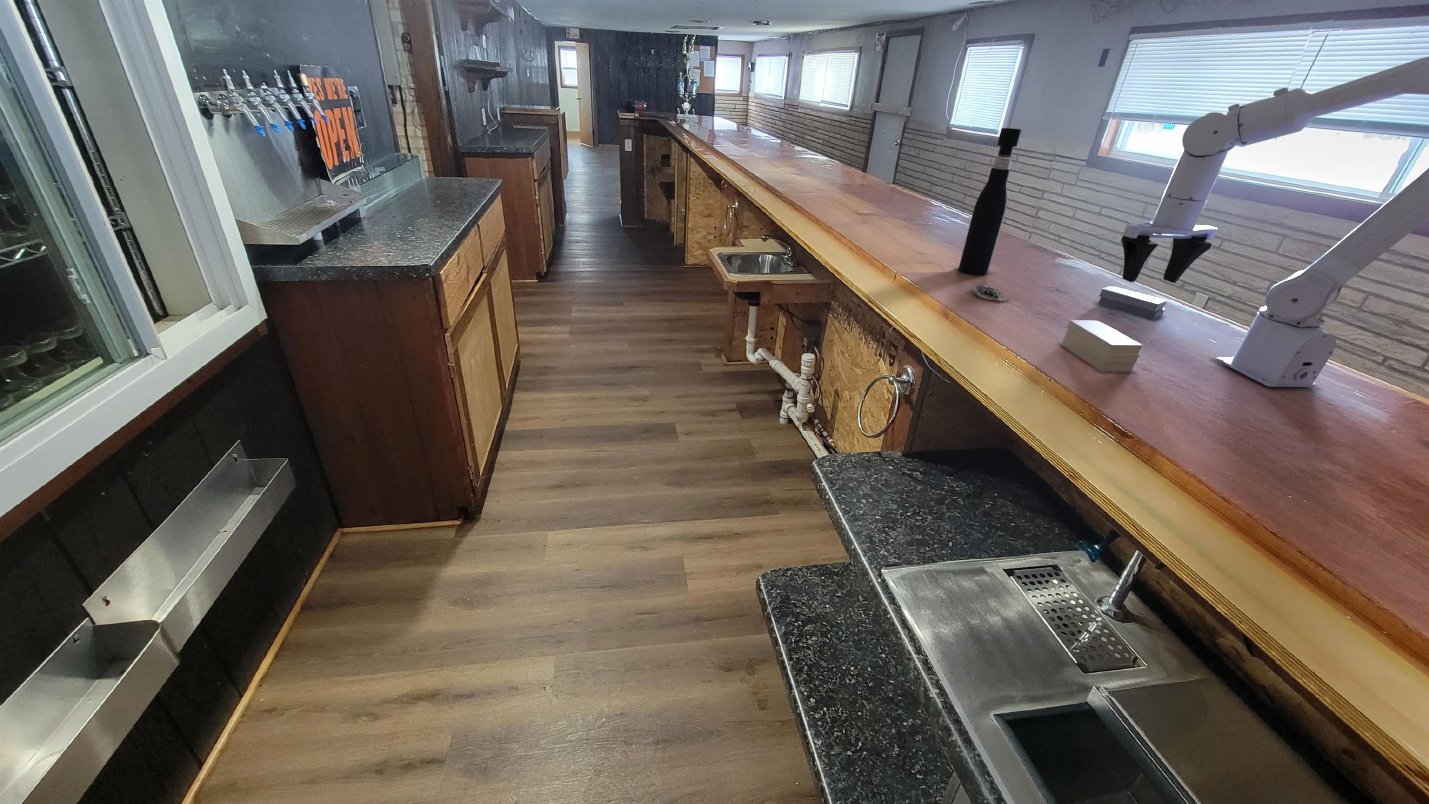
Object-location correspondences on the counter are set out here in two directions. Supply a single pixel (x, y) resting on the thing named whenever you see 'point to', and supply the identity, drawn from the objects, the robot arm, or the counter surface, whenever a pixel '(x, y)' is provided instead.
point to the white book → (1104, 336)
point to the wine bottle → (989, 210)
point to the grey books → (1132, 302)
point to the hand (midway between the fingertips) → (1148, 280)
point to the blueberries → (988, 293)
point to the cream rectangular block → (1098, 354)
